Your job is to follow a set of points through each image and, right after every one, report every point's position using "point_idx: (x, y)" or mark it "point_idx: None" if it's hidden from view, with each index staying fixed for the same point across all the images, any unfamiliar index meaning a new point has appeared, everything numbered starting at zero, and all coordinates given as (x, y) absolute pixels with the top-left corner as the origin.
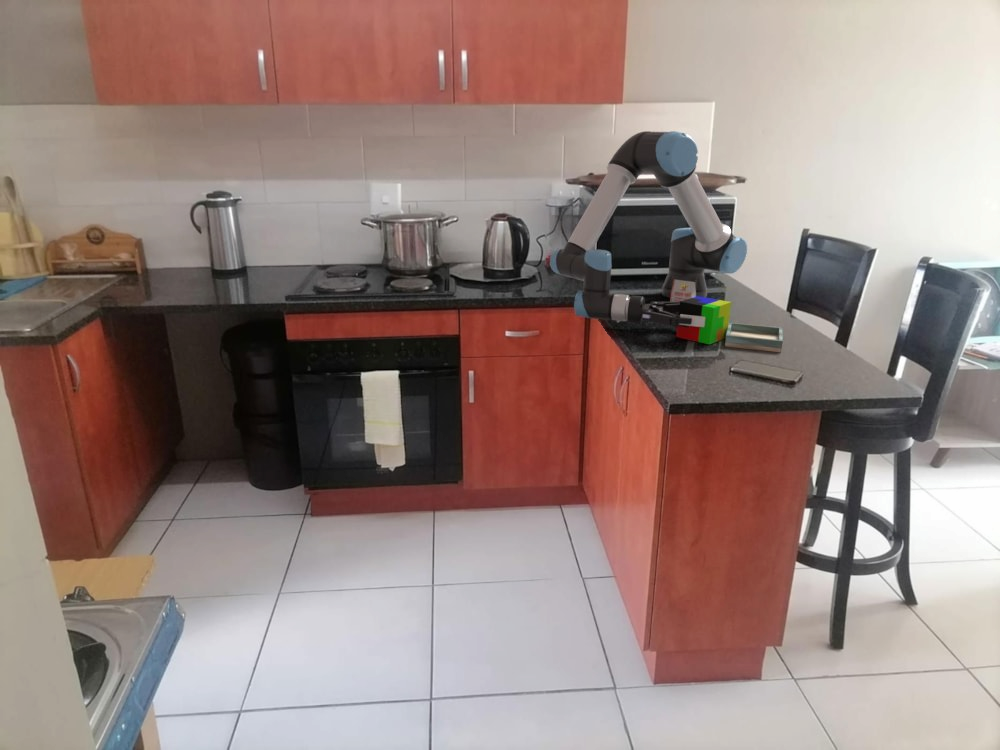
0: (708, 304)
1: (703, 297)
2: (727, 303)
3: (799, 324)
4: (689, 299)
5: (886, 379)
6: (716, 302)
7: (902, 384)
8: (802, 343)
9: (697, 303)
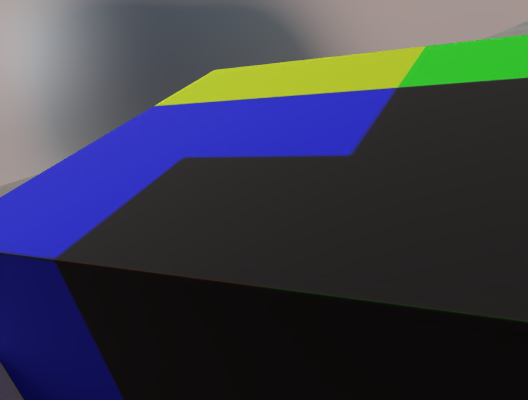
0: (439, 78)
1: (23, 190)
2: (278, 63)
3: (14, 182)
4: (214, 251)
5: (501, 37)
6: (276, 88)
7: (514, 28)
8: None
9: (487, 123)
